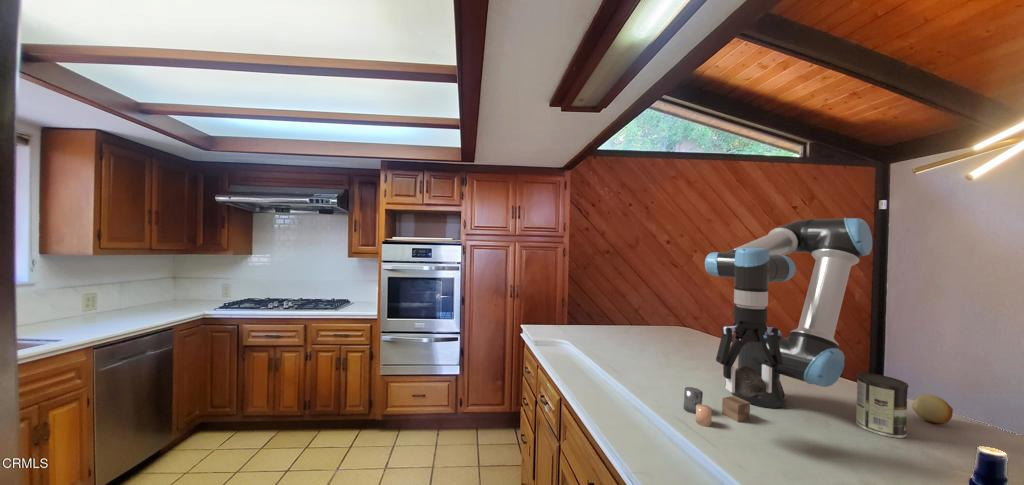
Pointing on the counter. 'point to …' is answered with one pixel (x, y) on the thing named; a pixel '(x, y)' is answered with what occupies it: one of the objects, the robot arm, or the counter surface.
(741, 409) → the walnut block
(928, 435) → the counter surface
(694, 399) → the metal tin
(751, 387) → the stone
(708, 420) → the peach rounded capsule
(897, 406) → the coffee can
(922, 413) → the fruit
